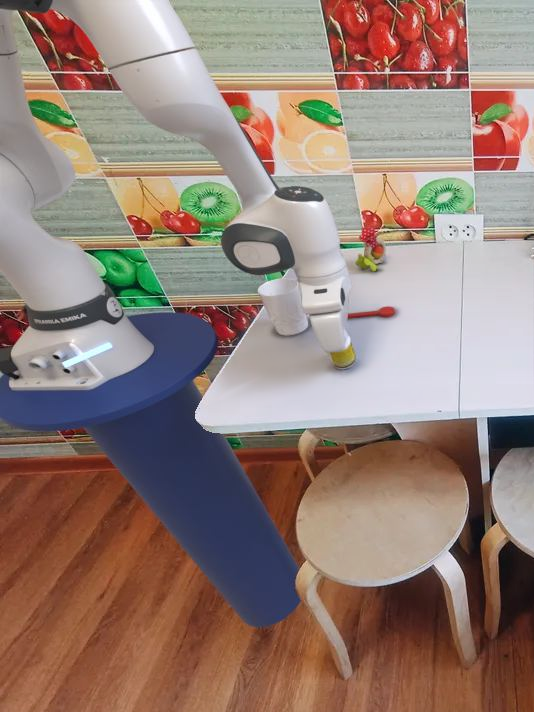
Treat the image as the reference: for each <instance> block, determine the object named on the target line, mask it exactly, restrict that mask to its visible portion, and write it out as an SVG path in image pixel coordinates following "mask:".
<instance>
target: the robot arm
mask: <svg viewBox="0 0 534 712" xmlns="http://www.w3.org/2000/svg"><path fill="white" fill-rule="evenodd" d="M49 10H52V11H55V12H57V13H60V14H61V15H63V16H65V17H67V18H68V19H70V20H71V21H72V22H74V24H76V25H77V26H78V27H79V28H80V29H81V30H82V32H83V33H84V35H86V36H87V38H88V40H89V41H90V43H91V44H92V45H93V47H94V49H95V50H96V52H97V54H98V56H99V57H100V58H101V60H102V61H103V64H104V65H105V67H106V68H107V69H108V71H109V74H110V75H111V76H112V78H113V79H114V81H115V82H116V84H117V86H118V87H119V89H120V90H121V92H122V93H123V95H124V96H125V97H126V99H127V100H128V101H129V103H130V104H131V105H132V106H133V107H134V109H135V110H137V112H138V113H139V114H140V115H141V116H142V117H143V118H144V119H145V120H146V121H147V122H149V123H150V124H152V125H153V126H155V127H157V128H158V129H160V130H163V131H165V132H168V133H170V134H174V135H178V136H182V137H185V138H188V139H190V140H193V141H194V142H197V143H198V144H200V145H201V146H203V147H204V148H205V149H206V150H208V151H209V153H210V154H211V155H212V156H213V158H214V159H215V160H216V162H217V164H219V166H220V168H221V170H222V171H223V172H224V174H225V175H226V177H227V179H228V180H229V181H230V183H231V184H232V186H233V187H234V189H235V191H236V192H237V194H238V195H239V197H240V200H241V204H242V210H241V211H240V212H239V214H237V215H236V216H235V217H234V218H233V219H232V220H231V221H230V222H229V223H228V224H227V225H226V227H225V228H224V229H223V231H222V233H221V236H220V246H221V249H222V252H223V253H224V256H225V257H226V258H227V259H228V261H229V262H230V263H231V264H232V265H233V266H234V267H235V268H237V269H239V270H240V271H242V272H243V273H246V274H249V275H252V276H266V275H267V276H268V275H271V274H277V273H281V272H283V271H284V272H285V271H287V270H290V269H292V270H293V271H294V274H295V277H296V281H297V282H298V285H299V288H300V292H301V303H302V308H303V311H304V313H305V314H306V316H307V315H309V320H310V324H311V326H312V330H313V331H314V334H315V337H316V339H317V341H318V344H319V345H320V348H321V349H322V351H323V352H324V353H326V354H328V353H331V352H338V351H343V350H344V349H345V341H346V337H345V330H346V332H347V333H348V319H349V318H348V314H349V309H350V296H349V293H350V292H351V290H352V289H353V282H352V280H351V275H350V271H349V268H348V264H347V260H346V258H345V256H344V255H343V253H342V250H341V238H340V234H339V230H338V226H337V224H336V220H335V218H334V215H333V213H332V210H331V208H330V206H329V203H328V202H327V200H326V198H325V196H324V195H323V194H322V193H321V192H320V191H318V190H315V189H313V188H311V187H307V186H301V185H290V186H283V187H279V186H278V185H277V183H276V182H275V180H274V179H273V176H272V175H271V173H270V172H269V170H268V168H267V167H266V165H265V163H264V161H263V160H262V158H261V156H260V155H259V153H258V152H257V150H256V148H255V147H254V145H253V142H252V141H251V140H250V138H249V137H248V135H247V133H246V131H245V130H244V128H243V126H242V125H241V123H240V122H239V120H238V118H237V117H236V116H235V114H234V113H233V111H232V110H231V107H230V106H229V105H228V104H227V101H226V100H225V99H224V97H223V95H222V93H221V92H220V90H219V88H218V86H217V84H216V83H215V81H214V79H213V78H212V75H211V73H210V72H209V70H208V68H207V66H206V64H205V62H204V60H203V58H202V56H201V55H200V53H199V50H198V49H197V48H196V45H195V43H194V42H193V40H192V38H191V36H190V34H189V32H188V30H187V29H186V27H185V25H184V24H183V21H182V20H181V18H180V17H179V15H178V13H177V12H176V10H175V9H174V7H173V5H172V4H171V3H170V1H169V0H0V274H1V275H2V276H3V277H4V278H5V279H6V281H7V282H8V283H9V284H10V286H12V288H13V289H14V290H15V291H16V293H17V295H18V296H19V297H20V298H21V299H22V300H23V302H24V303H25V304H24V305H23V306H22V307H21V310H19V311H18V312H17V313H16V314H14V317H18V319H17V321H22V320H23V319H24V318H25V317H27V320H28V325H29V326H28V327H26V329H25V330H24V332H23V333H22V335H21V336H20V337H19V338H18V339H17V341H16V342H15V344H14V345H13V346H9V347H3V348H0V372H1V374H2V375H3V374H5V375H7V376H9V377H11V378H10V380H9V386H10V388H11V389H12V390H13V391H47V390H91V389H94V388H96V387H98V386H100V385H101V384H103V383H105V382H106V381H108V380H110V379H113V378H115V377H118V376H120V375H123V374H125V373H127V372H129V371H131V370H133V369H135V368H137V367H138V366H140V365H141V364H143V363H144V362H145V361H147V360H148V359H149V358H150V356H151V355H152V354H153V352H154V345H153V344H152V343H151V342H150V341H149V340H147V339H146V338H145V337H144V336H143V335H142V334H141V333H140V332H139V331H138V330H137V329H136V328H135V326H134V325H133V324H132V323H131V322H130V320H129V319H128V318H127V315H126V314H125V312H124V310H123V306H122V305H121V303H120V301H119V300H118V298H117V296H116V294H115V293H114V292H113V290H112V288H111V287H110V286H109V284H107V283H106V282H104V281H103V280H102V277H101V276H100V275H99V273H98V271H97V270H96V267H95V266H94V265H93V263H92V261H91V260H90V259H89V257H88V255H87V253H86V252H85V250H84V249H83V248H82V246H80V245H79V244H78V243H76V242H75V241H73V240H71V239H67V238H65V237H60V236H56V235H51V234H50V233H48V232H47V231H46V230H45V229H44V228H43V227H41V226H40V225H39V223H38V222H37V221H36V220H35V218H34V217H33V214H32V213H34V212H35V211H37V210H39V209H41V208H44V207H46V206H48V205H50V204H52V203H55V202H57V201H59V199H61V197H62V196H64V195H65V194H66V193H67V192H68V191H69V190H70V189H71V188H72V186H73V185H74V183H75V182H76V170H75V167H74V165H73V162H72V161H71V159H70V157H69V156H68V155H67V153H66V152H65V151H64V150H63V149H62V148H61V147H60V146H59V145H58V144H56V143H55V142H54V141H52V140H51V139H50V138H48V137H47V136H45V135H44V133H43V132H42V131H41V128H40V127H39V125H38V124H37V122H36V119H35V117H34V116H33V113H32V110H31V108H30V104H29V101H28V97H27V92H26V87H25V82H24V77H23V73H22V72H23V71H22V67H21V62H20V61H21V60H20V56H19V51H18V46H17V40H16V35H15V31H14V25H13V11H19V12H27V13H34V14H46V13H48V12H49ZM14 371H15V372H14ZM11 372H14V373H11Z"/></svg>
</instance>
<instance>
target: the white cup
mask: <svg viewBox="0 0 534 712" xmlns="http://www.w3.org/2000/svg"><path fill="white" fill-rule="evenodd" d="M257 293H258V295H259V298H260V300H261V302H262V304H263V307H264V309H265V311H266V313H267V315H268V317H269V319H270V321H271V323H272V324H273V327H274V330H275V331H276V333H278V334H279V335H281V336H295V335H298V334H300V333H302V332H304V331H306V329H307V328H308V327H309V321H308V317H307V315H306V314H305V313H304V311H303V308H302V303H301V291H300V288H299V285H298V280H297V279H294V278H289V277H281V278H276V279H270V280H267V281H266V282H263V283H262V284H261V285H260V286H259V287H258V288H257Z"/></svg>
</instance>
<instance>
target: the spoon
mask: <svg viewBox="0 0 534 712" xmlns="http://www.w3.org/2000/svg"><path fill="white" fill-rule="evenodd" d="M395 314H396V311H395V308H394V307H393V306H388V305H387V306H383V307H381V308H378V310H371V311H362V312H361V311H360V312H352V313H348V319H356V318H366V317H376V316H380V317H382V318H389V317H392V316H394V315H395Z"/></svg>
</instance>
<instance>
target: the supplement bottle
mask: <svg viewBox="0 0 534 712" xmlns="http://www.w3.org/2000/svg"><path fill="white" fill-rule="evenodd" d="M345 337H346V341H345V349H344V350H343V351H338V352H331V353H327V355H328V357H329V361H330V363H331V365H332V366H333V367H334V368H335V369H338V370H348V369H350V368H351V367H353V366H354V365H355V364H356V362H357V355H356V352H355V349H354V345H353V342H352V339H351V337H350V335H349V334H348V331H347V332H346V330H345Z"/></svg>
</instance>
